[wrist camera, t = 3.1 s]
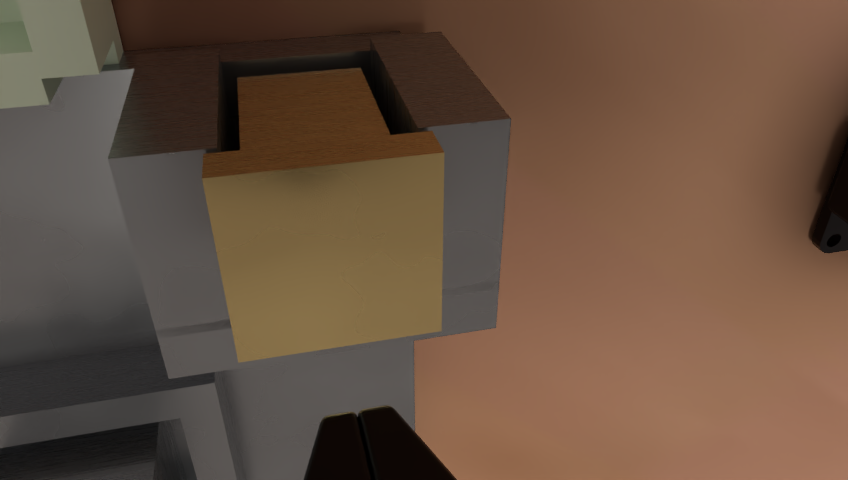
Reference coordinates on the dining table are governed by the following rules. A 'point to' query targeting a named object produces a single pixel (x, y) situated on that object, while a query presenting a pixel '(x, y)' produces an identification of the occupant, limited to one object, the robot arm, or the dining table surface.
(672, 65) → the dining table surface
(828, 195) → the robot arm
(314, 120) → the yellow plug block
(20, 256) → the socket block
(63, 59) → the grey square frame
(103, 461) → the grey block
